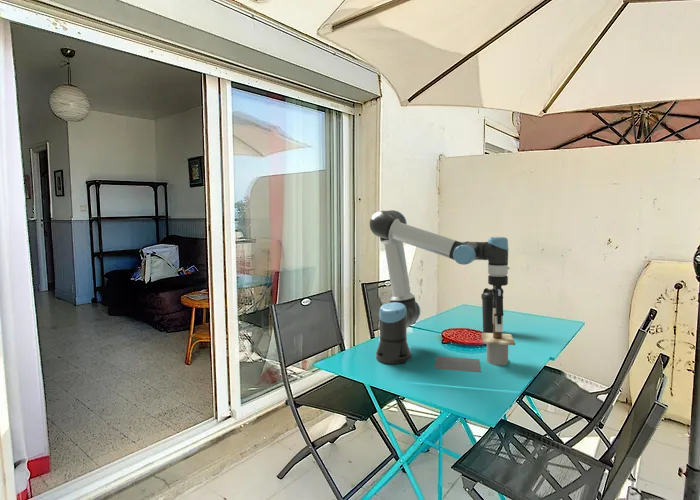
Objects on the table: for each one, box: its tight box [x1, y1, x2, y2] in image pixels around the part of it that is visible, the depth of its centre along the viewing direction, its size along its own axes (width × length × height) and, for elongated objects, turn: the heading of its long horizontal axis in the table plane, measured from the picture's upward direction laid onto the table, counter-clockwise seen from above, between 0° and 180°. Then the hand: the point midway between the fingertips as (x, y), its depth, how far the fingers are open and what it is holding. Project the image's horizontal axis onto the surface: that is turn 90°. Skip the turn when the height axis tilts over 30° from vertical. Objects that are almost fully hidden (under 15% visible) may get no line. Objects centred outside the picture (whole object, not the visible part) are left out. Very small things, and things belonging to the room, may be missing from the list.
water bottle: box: [481, 287, 493, 333], centre depth 205 cm, size 10×10×23 cm
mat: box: [433, 355, 482, 373], centre depth 164 cm, size 18×14×1 cm
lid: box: [481, 311, 516, 346], centre depth 164 cm, size 12×12×12 cm
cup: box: [486, 344, 509, 366], centre depth 165 cm, size 8×8×10 cm
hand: (497, 327), depth 164 cm, fingers open, 11 cm apart
